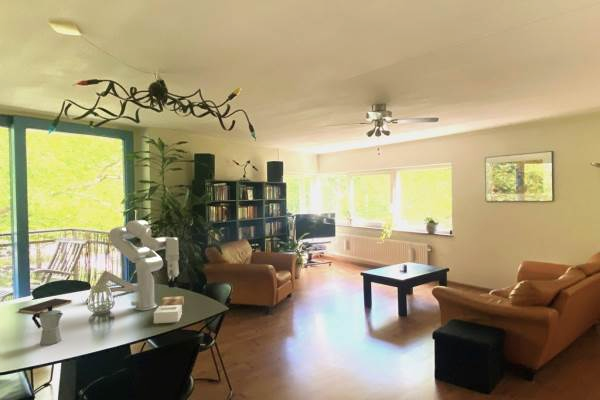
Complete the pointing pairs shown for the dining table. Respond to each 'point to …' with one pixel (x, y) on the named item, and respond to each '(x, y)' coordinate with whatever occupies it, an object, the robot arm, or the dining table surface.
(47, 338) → the coffee maker
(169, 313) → the white recessed tray
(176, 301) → the tan brown rectangular block
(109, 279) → the wall bracket
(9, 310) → the dining table surface
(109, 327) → the dining table surface
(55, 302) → the hardcover book
